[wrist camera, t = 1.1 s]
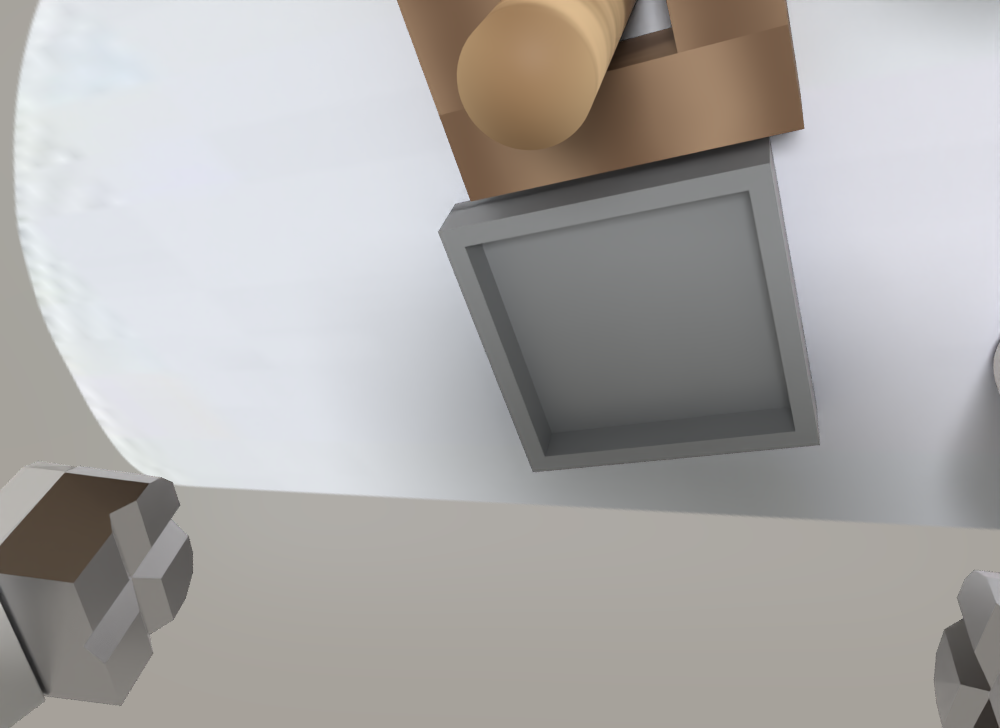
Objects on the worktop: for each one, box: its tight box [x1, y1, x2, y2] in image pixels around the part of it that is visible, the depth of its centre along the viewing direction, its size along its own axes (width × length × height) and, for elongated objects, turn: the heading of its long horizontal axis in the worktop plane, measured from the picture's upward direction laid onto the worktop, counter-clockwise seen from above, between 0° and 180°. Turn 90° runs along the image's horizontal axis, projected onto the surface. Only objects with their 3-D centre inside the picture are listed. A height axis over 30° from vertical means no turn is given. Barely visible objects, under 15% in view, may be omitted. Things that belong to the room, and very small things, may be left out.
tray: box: [438, 136, 820, 472], centre depth 44 cm, size 15×15×3 cm
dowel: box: [457, 0, 636, 150], centre depth 31 cm, size 4×4×14 cm
